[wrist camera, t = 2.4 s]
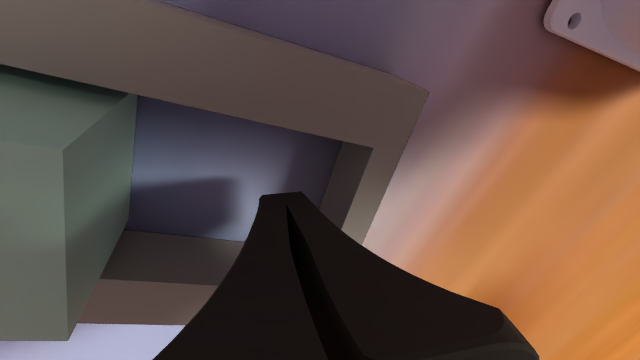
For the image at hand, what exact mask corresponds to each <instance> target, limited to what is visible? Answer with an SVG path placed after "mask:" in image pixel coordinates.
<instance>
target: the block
mask: <svg viewBox="0 0 640 360" xmlns="http://www.w3.org/2000/svg"><path fill="white" fill-rule="evenodd" d="M137 96H138V95H136V94H132V93H127V92H123V91H118V90H114V89H110V88H105V87H101V86H96V85H92V84H87V83H83V82H78V81H74V80H70V79H65V78H61V77H56V76H52V75H47V74H43V73H38V72H34V71H30V70H25V69H21V68H16V67H12V66H7V65H3V64H0V341H68V340H69V338H70V336H71V334H72V332H73V330H74V328H75V326H76V324H77V322H78V320H79V318H80V316H81V314H82V312H83V310H84V308H85V306H86V304H87V302H88V300H89V298H90V296H91V294H92V292H93V290H94V288H95V286H96V284H97V282H98V280H99V278H100V276H101V274H102V272H103V270H104V268H105V266H106V264H107V262H108V260H109V258H110V256H111V254H112V252H113V250H114V248H115V246H116V244H117V242H118V240H119V238H120V236H121V234H122V232H123V230H124V228H125V226H126V224H127V222H128V220H129V210H130V196H131V182H132V167H133V153H134V139H135V124H136V110H137Z"/></svg>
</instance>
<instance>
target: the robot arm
mask: <svg viewBox="0 0 640 360" xmlns="http://www.w3.org/2000/svg"><path fill="white" fill-rule="evenodd" d="M570 17H572V19H571V22H570V24H569V25H568V21H569V19H570ZM544 26H545V29H547V30H548V31H549V32H552V33H554V34H556V35H558V36H561V37H563V38H565V39H567V40H570V41H572V42H574V43H576V44H579V45H581V46H583V47H585V48H588V49H590V50H592V51H594V52H597V53H599V54H601V55H603V56H606V57H608V58H610V59H612V60H615V61H617V62H619V63H621V64H624V65H626V66H628V67H630V68H633V69H635V70H637V71H639V72H640V0H552V2H551V4H550V6H549V7H548V9H547V11H546V14H545V16H544ZM153 360H539V356H538V354H537V353H536V351H535V349H534V348H533V347H532V346H531V345H530V343H529V342H528V341H527V340H526V339H525V337H524V336H523V335H522V334H521V333H520V332H519V330H518V329H517V328H516V327H515V326H514V325H513V323H512V322H511V321H510V320H509V319H508V318H507V317H506V316H505V314H504V313H503V312H502V311H501V310H500V309H498V308H496V307H493V306H490V305H487V304H484V303H481V302H478V301H476V300H473V299H470V298H467V297H464V296H461V295H459V294H456V293H453V292H450V291H448V290H446V289H443V288H441V287H439V286H436V285H434V284H432V283H429V282H427V281H425V280H422V279H420V278H418V277H416V276H414V275H412V274H410V273H408V272H406V271H404V270H402V269H400V268H398V267H396V266H395V265H393V264H391V263H389V262H387V261H386V260H384V259H382V258H380V257H379V256H377V255H376V254H374V253H373V252H371V251H369V250H368V249H366V248H365V247H363V246H362V245H360V244H359V243H357V242H356V241H355V240H353V239H352V238H351V237H349V236H348V235H347V234H346V233H344V232H343V231H342V230H341V229H340V228H338V227H337V226H336V225H335V224H334V223H333V222H332V221H331V220H329V219H328V218H327V217H326V216H325V215H324V214H323V213H322V212H321V211H320V210H319V209H318V208H317V207H316V206H315V205H314V204H313V203H312V202H311V201H310V200H309V199H308V198H307V197H306V196H305V195H304V194H303V193H302V192H301V191H300V192H290V193H279V194H268V195H262V196H261V197H260V198H259V207H258V211H257V214H256V217H255V220H254V223H253V225H252V228H251V230H250V233H249V235H248V237H247V239H246V241H245V243H244V245H243V247H242V249H241V251H240V253H239V255H238V257H237V258H236V260H235V262H234V263H233V265H232V267H231V268H230V270H229V271H228V273H227V274H226V276H225V278H224V279H223V280H222V282H221V283H220V285H219V286H218V287H217V289H216V290H215V291H214V293H213V294H212V295H211V297H210V298H209V299H208V301H207V302H206V303H205V304H204V306H203V307H202V308H201V309H200V310H199V311H198V313H197V314H196V315H195V316H194V317H193V318H192V319H191V320H190V322H189V323H188V324H187V325H186V326H185V327H184V328H183V329H182V331H181V332H180V333H179V334H178V335H177V336H176V337H175V338H174V339H173V340H172V341H171V342H170V343H169V344H168V345H167V346H166V347H165V348H164V349H163V350H162V351H161V352H160V353H159V354H158V355H157V356H156V357H155V358H154V359H153Z"/></svg>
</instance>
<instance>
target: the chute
mask: <svg viewBox="0 0 640 360" xmlns="http://www.w3.org/2000/svg"><path fill="white" fill-rule="evenodd" d="M0 64H3V65H7V66H12V67H16V68H21V69H25V70H30V71H34V72H38V73H43V74H47V75H52V76H56V77H61V78H65V79H70V80H74V81H78V82H83V83H87V84H92V85H96V86H101V87H105V88H110V89H114V90H118V91H123V92H127V93H132V94H136V95H141V96H145V97H150V98H154V99H158V100H163V101H167V102H172V103H176V104H181V105H185V106H190V107H194V108H198V109H203V110H207V111H212V112H216V113H221V114H225V115H230V116H234V117H238V118H243V119H247V120H252V121H256V122H261V123H265V124H270V125H274V126H278V127H283V128H287V129H292V130H296V131H301V132H305V133H310V134H314V135H319V136H323V137H327V138H332V139H336V140H341V141H343V143H342V146H341V148H340V151H339V154H338V157H337V160H336V162H335V165H334V168H333V171H332V174H331V177H330V179H329V182H328V185H327V188H326V191H325V194H324V196H323V199H322V202H321V205H320V208H319V210H320V211H321V212H322V213H323V214H324V215H325V216H326V217H327V218H328V219H329V220H331V221H332V222H333V223H334V224H335V225H336V226H337V227H338V228H340V229H341V230H342V231H343V232H344V233H346V234H347V235H348V236H349V237H351V238H352V239H353V240H355V241H356V242H357V243H359V244H360V245H362V244H363V241H364V239H365V237H366V234H367V232H368V230H369V228H370V225H371V223H372V221H373V219H374V216H375V214H376V212H377V210H378V207H379V205H380V203H381V201H382V198H383V196H384V194H385V191H386V189H387V187H388V185H389V182H390V180H391V178H392V176H393V173H394V171H395V169H396V167H397V164H398V162H399V160H400V158H401V155H402V153H403V151H404V148H405V146H406V144H407V142H408V139H409V137H410V135H411V133H412V130H413V128H414V126H415V124H416V121H417V119H418V117H419V115H420V112H421V110H422V108H423V105H424V103H425V101H426V99H427V96H428V94H429V92H428V91H426V90H424V89H422V88H420V87H418V86H416V85H414V84H412V83H410V82H407V81H405V80H403V79H401V78H399V77H397V76H395V75H392V74H389V73H386V72H383V71H380V70H376V69H373V68H370V67H367V66H364V65H361V64H357V63H354V62H351V61H348V60H345V59H342V58H338V57H335V56H332V55H329V54H326V53H322V52H319V51H316V50H313V49H310V48H307V47H303V46H300V45H297V44H294V43H291V42H288V41H284V40H281V39H278V38H275V37H272V36H268V35H265V34H262V33H259V32H256V31H253V30H249V29H246V28H243V27H240V26H237V25H234V24H230V23H227V22H224V21H221V20H218V19H214V18H211V17H208V16H205V15H202V14H199V13H195V12H192V11H189V10H186V9H183V8H180V7H176V6H173V5H170V4H167V3H164V2H160V1H157V0H0ZM244 243H245V242H238V241H228V240H218V239H209V238H199V237H189V236H179V235H170V234H160V233H150V232H141V231H131V230H123V232H122V234H121V236H120V238H119V240H118V242H117V244H116V246H115V248H114V250H113V252H112V254H111V256H110V258H109V260H108V262H107V264H106V266H105V268H104V270H103V272H102V274H101V276H100V278H99V280H98V282H97V284H96V286H95V288H94V290H93V292H92V294H91V296H90V298H89V300H88V302H87V304H86V306H85V308H84V310H83V312H82V314H81V316H80V318H79V320H78V322H77V323H94V324H145V325H187V324H188V323H189V322H190V320H191V319H192V318H193V317H194V316H195V315H196V314H197V313H198V311H199V310H200V309H201V308H202V307H203V306H204V304H205V303H206V302H207V301H208V299H209V298H210V297H211V295H212V294H213V293H214V291H215V290H216V289H217V287H218V286H219V285H220V283H221V282H222V280H223V279H224V278H225V276H226V274H227V273H228V271H229V270H230V268H231V267H232V265H233V263H234V262H235V260H236V258H237V257H238V255H239V253H240V251H241V249H242V247H243V245H244Z"/></svg>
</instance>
